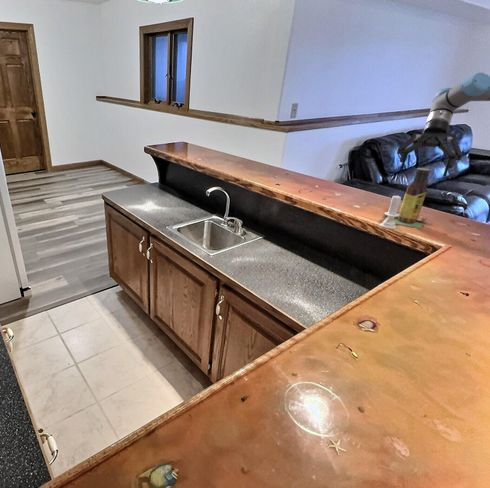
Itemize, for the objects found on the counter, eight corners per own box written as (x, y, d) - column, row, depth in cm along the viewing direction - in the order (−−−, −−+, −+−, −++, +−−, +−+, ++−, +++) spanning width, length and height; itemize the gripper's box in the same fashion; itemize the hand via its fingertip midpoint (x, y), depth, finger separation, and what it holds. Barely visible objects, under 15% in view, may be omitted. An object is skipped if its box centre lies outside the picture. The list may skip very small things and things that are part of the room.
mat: (422, 220, 134) (423, 219, 134) (421, 229, 127) (421, 228, 127) (387, 214, 140) (387, 213, 140) (383, 221, 133) (383, 220, 133)
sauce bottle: (412, 225, 129) (430, 172, 120) (394, 220, 133) (410, 168, 125) (419, 221, 133) (436, 169, 124) (400, 216, 137) (416, 166, 128)
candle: (383, 222, 133) (391, 191, 127) (398, 226, 129) (408, 195, 124) (377, 225, 130) (386, 194, 124) (393, 230, 126) (403, 198, 121)
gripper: (401, 116, 139) (385, 161, 135) (481, 121, 126) (467, 170, 121) (398, 129, 145) (383, 172, 141) (475, 134, 132) (461, 182, 127)
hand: (422, 171), depth 131 cm, fingers open, 13 cm apart
